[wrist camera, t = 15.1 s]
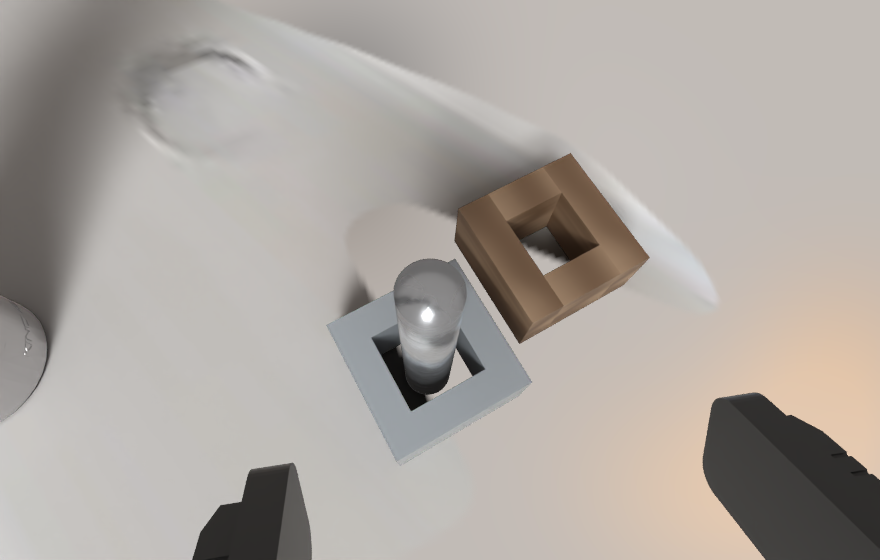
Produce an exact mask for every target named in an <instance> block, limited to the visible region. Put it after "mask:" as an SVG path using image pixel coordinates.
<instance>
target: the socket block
mask: <svg viewBox="0 0 880 560" xmlns="http://www.w3.org/2000/svg"><path fill="white" fill-rule="evenodd" d="M448 263H449V264H450V265H452V266H453V267H454V268H456V269H457V270H458V271H459V273H460V274H461V275H462V277H463V279H464V281H465V284H466V288H467V298H466V303H465V308H464V312H463V317H462V321H461V326H460V330H459V335H458V339H457V344H456V349H457V350H458V352H459V354H460V355H461V357H462V359H463V361H464V362H465V364H466V366H467V367H468V369H469V371H470V372H471V374H472V376H473V377H471V378H469V379H467V380H466V381H464V382H462V383H461V384H459V385H457V386H455V387H453V388H452V389H450V390H448V391H447V392H445V393H443V394H441V395H439V396H438V397H436V398H434V399H432V400H430V401H429V402H427V403H425V404H423V405H422V406H420V407H418V408H416V409H415V410H413V411H410V409H409V407H408V405H407V403H406V401H405V399H404V398H403V396H402V394H401V392H400V390H399V388H398V386H397V385H396V383H395V381H394V379H393V377H392V375H391V374H390V372H389V370H388V368H387V366H386V364H385V362H384V361H383V359H382V357H381V355H382V354H384V353H385V352H387V351H389V350H391V349H393V348H395V347H397V346H398V345H400V344H401V342H400V335H399V329H398V322H397V315H396V309H395V302H394V291H392V292H390V293H388V294H386V295H384V296H382V297H380V298H378V299H376V300H374V301H372V302H370V303H368V304H366V305H364V306H363V307H361V308H359V309H357V310H355V311H353V312H351V313H349V314H347V315H345V316H343V317H341V318H339V319H337V320H335V321H333V322H331V323H330V324H328V325H326V326H327V327H328V329H329V331H330V333H331V335H332V337H333V339H334V341H335V343H336V345H337V347H338V349H339V351H340V353H341V355H342V357H343V359H344V361H345V362H346V364H347V366H348V368H349V370H350V372H351V374H352V376H353V378H354V380H355V382H356V384H357V386H358V388H359V390H360V392H361V394H362V395H363V397H364V399H365V401H366V403H367V405H368V407H369V409H370V411H371V413H372V415H373V417H374V419H375V421H376V423H377V425H378V427H379V429H380V430H381V432H382V434H383V436H384V438H385V440H386V442H387V444H388V446H389V448H390V450H391V452H392V454H393V456H394V458H395V460H396V462H397V463H398V464H399V465H400V466H401V465H402V464H404V463H406V462H407V461H409V460H411V459H412V458H414V457H416V456H418V455H419V454H421V453H423V452H424V451H426V450H428V449H429V448H431V447H433V446H435V445H436V444H438V443H440V442H441V441H443V440H445V439H446V438H448V437H450V436H452V435H453V434H455V433H457V432H458V431H460V430H462V429H463V428H465V427H467V426H468V425H470V424H472V423H474V422H475V421H477V420H479V419H480V418H482V417H484V416H485V415H487V414H489V413H491V412H492V411H494V410H495V409H497V408H499V407H501V406H503V405H504V404H506V403H508V402H509V401H511V400H513V399H514V398H516V397H518V396H519V395H520V394H521V393H522V392H523V391H524V390H525V389H526V388H527V387H528V386H529V385H530V384H531V383H532V381H531V379H530V378H529V376H528V375H527V373H526V371H525V370H524V368H523V367H522V365H521V363H520V362H519V361H518V359H517V357H516V356H515V354H514V352H513V351H512V349H511V347H510V346H509V344H508V343H507V341H506V339H505V338H504V336H503V335H502V333H501V331H500V330H499V328H498V327H497V325H496V323H495V322H494V320H493V319H492V317H491V315H490V314H489V312H488V311H487V309H486V307H485V306H484V304H483V303H482V301H481V299H480V298H479V296H478V295H477V293H476V291H475V290H474V288H473V287H472V285H471V283H470V282H469V280H468V279H467V277H466V275H465V274H464V272H463V271H462V269H461V267H460V266H459V264H458V263H457V261H456V259H454V260H452V261H450V262H448Z"/></svg>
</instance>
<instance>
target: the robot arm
mask: <svg viewBox="0 0 880 560" xmlns="http://www.w3.org/2000/svg"><path fill="white" fill-rule="evenodd" d="M46 358H47V341H46V336H45V332H44V329H43V327H42V325H41V323H40V321H39V320H38V319H37V318H36V317H35V315H34V314H33V313H32V312H31V311H29V310H28V309H26V308H25V307H23V306H22V305H20V304H18V303H16V302H14V301H11V300H9V299H7V298H5V297H3V296H1V295H0V422H1V421H2V420H4V419H5V418H7V417H8V416H10V415H11V414H12V413H14V412H15V411H16V410H17V409H18V408H19V407H20V406H21V405H22V404H23V403H24V402H25V401H26V400H27V398H28V397H29V396H30V394H31V393H32V391H33V390H34V389H35V387H36V385H37V383H38V381H39V379H40V377H41V375H42V373H43V370H44V366H45V362H46ZM703 470H704V474H705V477H706V480H707V482H708V484H709V486H710V488H711V490H712V491H713V493H714V494H715V496H716V497H717V498H718V499H719V501H720V502H721V503H722V504H723V506H724V507H725V508H726V510H727V511H728V512H729V513H730V515H731V516H732V517H733V519H734V520H735V521H736V522H737V524H738V525H739V526H740V527H741V529H742V530H743V531H744V533H745V534H746V535H747V536H748V538H749V539H750V540H751V541H752V543H753V544H754V545H755V547H756V548H757V549H758V551H759V552H760V553H761V554H762V556H763V557H764V558H765V559H766V560H880V480H879V479H877V477H875V476H874V475H873V474H868V472H867V469H866V468H865V467H864V466H863V465H861V464H860V463H859V462H858V461H857V460H856V459H854V458H853V457H852V456H848V455H847V452H846V451H845V450H844V449H842V448H841V447H840V446H839V445H838V444H837V443H836V442H834V441H833V440H832V439H831V438H830V437H829V436H827V435H826V434H825V433H824V432H823V431H821V430H819V429H817V428H815V427H813V426H812V425H810V424H807V423H806V422H804V421H802V420H800V419H798V418H796V417H794V416H792V415H788V416H786V415H785V414H784V413H783V412H782V411H780V410H779V409H778V408H777V407H776V406H775V405H774V404H773V403H772V402H770V401H769V400H768V399H767V398H766V397H765V396H763V395H761V394H759V393H748V394H742V395H735V396H729V397H722V398H718V399H716V400H715V401H714V402H713V404H712V407H711V413H710V418H709V424H708V430H707V436H706V442H705V448H704V454H703ZM311 559H312V547H311V533H310V526H309V521H308V516H307V512H306V508H305V504H304V499H303V495H302V491H301V487H300V483H299V478H298V474H297V470H296V467H295V465H294V464H293V463H289V464H283V465H276V466H270V467H263V468H257V469H251V470H250V471H249V474H248V477H247V481H246V485H245V489H244V494H243V498H242V502H238V503H232V504H226V505H220V507H219V508H218V509H217V511H216V512H215V513H214V515H213V516H212V517H211V519H210V520H209V522H208V523H207V524H206V526H205V527H204V528H203V530H202V531H201V532H200V536H199V539H198V542H197V546H196V549H195V552H194V556H193V559H192V560H311Z"/></svg>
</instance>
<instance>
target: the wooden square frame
mask: <svg viewBox="0 0 880 560" xmlns="http://www.w3.org/2000/svg"><path fill="white" fill-rule="evenodd" d="M544 227H547V228H548V229H549V231H550V232H551V234H552V235H553V237H554V238H555V239H556V241H557V242H558V244H559V245H560V247H561V248H562V249H563V251H564V252H565V254H566V255H567V257H568V258H569V259H570V261H569V262H568V263H566V264H564V265H562V266H560V267H558V268H557V269H555V270H553V271H551V272H549V273H547V274H545V275H544V276H543V274H542V273H541V271H540V270H539V268H538V267H537V265H536V264H535V263H534V261H533V260H532V258H531V257H530V255H529V254H528V252H527V251H526V249H525V248H524V246H523V245H522V243H521V242H520V240H521V239H523V238H525V237H527V236H529V235H531V234H533V233H534V232H536V231H538V230H540V229H542V228H544ZM455 242H456V244H457V246H458V247H459V249H460V251H461V252H462V253H463V255H464V257H465V258H466V260H467V262H468V263H469V265H470V266H471V268H472V269H473V271H474V272H475V274H476V276H477V277H478V279H479V281H480V282H481V284H482V285H483V287H484V288H485V290H486V292H487V293H488V295H489V296H490V298H491V300H492V301H493V302H494V304H495V306H496V307H497V309H498V311H499V312H500V314H501V315H502V317H503V318H504V320H505V322H506V323H507V325H508V326H509V328H510V329H511V331H512V332H513V334H514V336H515V338H516V339H517V340H518V342H519V344H520V343H522V342H524V341H525V340H527V339H529V338H531V337H533V336H534V335H536V334H538V333H540V332H541V331H543V330H545V329H547V328H548V327H550V326H552V325H554V324H556V323H557V322H559V321H561V320H562V319H564V318H566V317H567V316H569V315H571V314H573V313H575V312H577V311H578V310H580V309H582V308H584V307H585V306H587V305H589V304H591V303H592V302H594V301H596V300H598V299H600V298H601V297H603V296H605V295H607V294H608V293H610V292H612V291H614V290H616V289H617V288H619V287H621V286H623V285H624V284H625V283H626V282H627V281H628V280H629V279H630V278H631V277H632V276H633V275H634V273H635V272H636V271H637V270H638V269H639V268H640V267H641V266H642V265H643V264H644V263H645V262H646V261H647V260H648V259H649V256H648V255H647V254H646V252H645V251H644V250H643V248H642V247H641V246H640V244H639V243H638V242H637V240H636V239H635V238H634V236H633V235H632V234H631V232H630V231H629V230H628V228H627V227H626V226H625V224H624V223H623V222H622V221H621V219H620V218H619V217H618V215H617V214H616V213H615V211H614V210H613V209H612V207H611V206H610V205H609V203H608V202H607V201H606V199H605V198H604V197H603V195H602V194H601V193H600V191H599V190H598V189H597V187H596V186H595V185H594V184H593V182H592V181H591V180H590V178H589V177H588V176H587V174H586V173H585V172H584V170H583V169H582V168H581V166H580V165H579V164H578V162H577V161H576V160H575V158H574V157H573V156H572V154H571V153H570V154H568V155H566V156H564V157H562V158H560V159H558V160H556V161H554V162H552V163H550V164H548V165H546V166H544V167H542V168H540V169H538V170H536V171H534V172H532V173H530V174H528V175H526V176H524V177H521V178H519V179H517V180H515V181H513V182H511V183H509V184H507V185H505V186H503V187H501V188H499V189H497V190H495V191H493V192H491V193H489V194H487V195H485V196H483V197H481V198H479V199H477V200H475V201H473V202H471V203H469V204H467V205H465V206H463V207H461V208H459V209H458V216H457V225H456V233H455Z"/></svg>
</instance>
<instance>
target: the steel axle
mask: <svg viewBox="0 0 880 560" xmlns="http://www.w3.org/2000/svg"><path fill="white" fill-rule="evenodd" d="M466 298H467V288H466V284H465V281H464V279H463V277H462V275H461V274H460V273H459V271H458V270H457V269H456V268H454V267H453V266H452V265H450V264H449V263H447V262H445V261H442V260H438V259H423V260H419V261H416V262H413V263H412V264H410V265H408V266H407V267H406V268H405V269H404V270H403V271H402V272H401V273H400V274H399V276H398V278H397V280H396V282H395V285H394V302H395V309H396V315H397V322H398V329H399V335H400V342H401V349H402V355H403V362H404V368H405V375H406V379H407V382H408V384H409V385H410V387H411V388H412V389H413V390H415V391H416V392H418V393H421V394H426V395H428V394H434V393H437V392H439V391H440V390H441V389H443V388H444V386H445V385H446V384H447V382H448V379H449V375H450V371H451V366H452V362H453V357H454V353H455V348H456V344H457V339H458V335H459V330H460V326H461V321H462V317H463V312H464V308H465V303H466Z"/></svg>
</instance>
